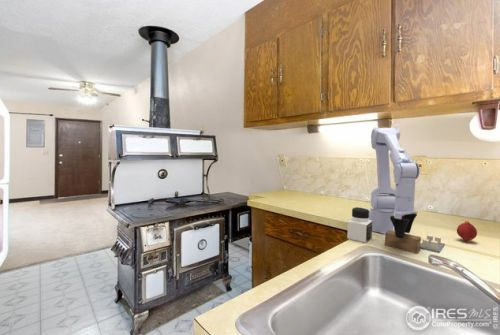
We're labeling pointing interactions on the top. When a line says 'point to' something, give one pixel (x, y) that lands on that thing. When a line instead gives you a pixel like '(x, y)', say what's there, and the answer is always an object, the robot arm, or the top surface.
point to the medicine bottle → (360, 225)
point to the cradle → (432, 244)
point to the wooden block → (403, 242)
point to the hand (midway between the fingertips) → (402, 235)
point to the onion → (467, 231)
